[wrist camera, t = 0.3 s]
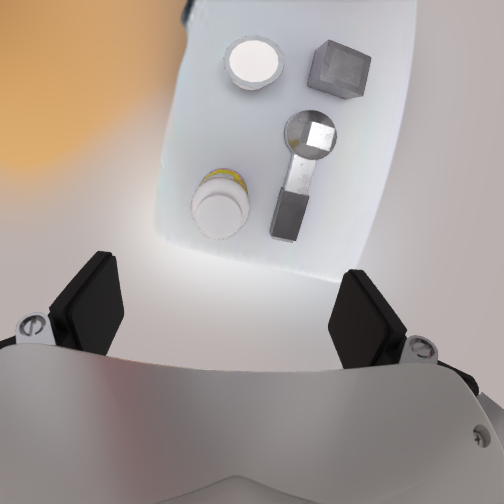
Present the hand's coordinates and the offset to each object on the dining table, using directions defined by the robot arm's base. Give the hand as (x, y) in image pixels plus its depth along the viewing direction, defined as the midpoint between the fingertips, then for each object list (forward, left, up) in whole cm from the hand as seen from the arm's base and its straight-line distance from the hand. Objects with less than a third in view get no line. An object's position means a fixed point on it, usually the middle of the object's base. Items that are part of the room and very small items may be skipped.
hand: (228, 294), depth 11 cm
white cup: (-15, -1, -30) cm, 33 cm away
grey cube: (-18, +10, -30) cm, 36 cm away
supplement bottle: (+3, -1, -30) cm, 30 cm away
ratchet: (-1, +9, -30) cm, 31 cm away
